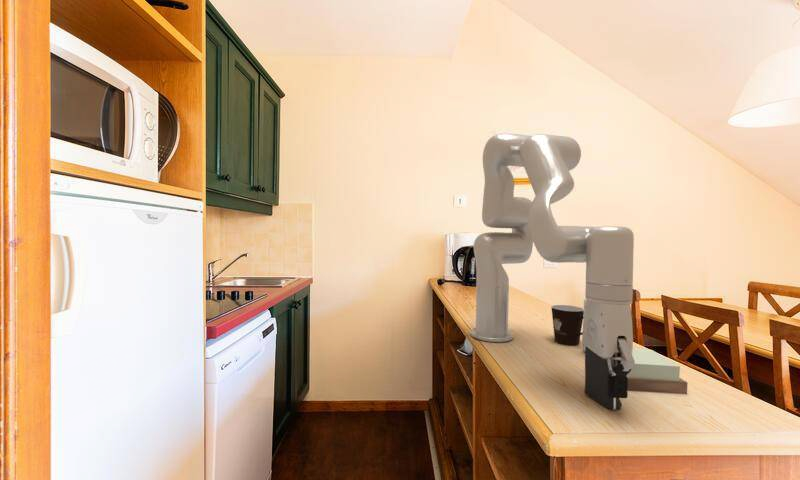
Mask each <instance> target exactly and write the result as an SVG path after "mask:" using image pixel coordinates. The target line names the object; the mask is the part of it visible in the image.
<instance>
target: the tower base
mask: <svg viewBox="0 0 800 480" xmlns="http://www.w3.org/2000/svg"><path fill="white" fill-rule="evenodd" d="M628 391H629V392H642V393H643V392H645V393H659V394H660V393H661V394H666V393H667V394H678V395H679V394H681V395H687V394H688V382H687V381H686V380H684V379H683V378H681V377H679V381H667V380H652V379H638V378H628Z"/></svg>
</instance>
